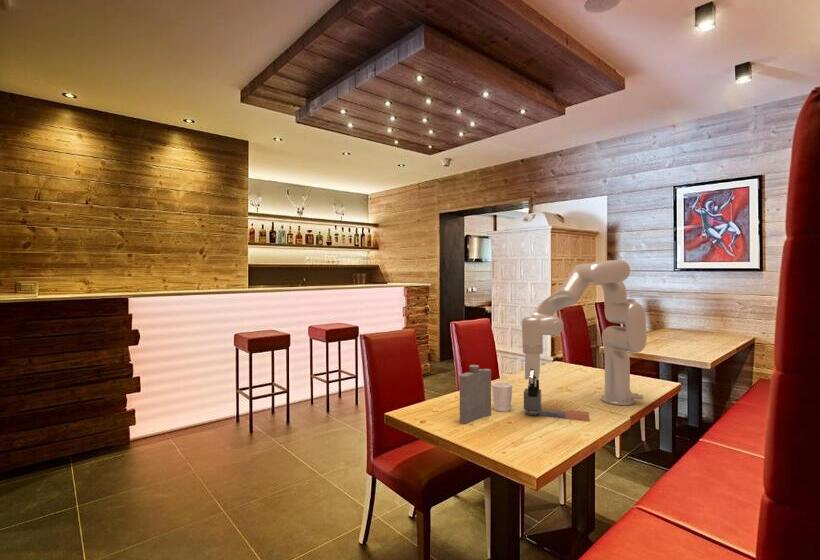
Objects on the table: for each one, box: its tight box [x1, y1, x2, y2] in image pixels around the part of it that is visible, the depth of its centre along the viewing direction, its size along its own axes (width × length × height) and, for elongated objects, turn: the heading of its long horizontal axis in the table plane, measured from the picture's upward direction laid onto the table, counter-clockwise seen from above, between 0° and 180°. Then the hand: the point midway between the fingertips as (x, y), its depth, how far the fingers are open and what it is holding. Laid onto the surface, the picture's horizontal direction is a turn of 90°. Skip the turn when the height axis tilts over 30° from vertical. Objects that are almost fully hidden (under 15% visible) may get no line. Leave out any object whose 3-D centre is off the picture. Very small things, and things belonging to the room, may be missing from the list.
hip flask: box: [458, 364, 492, 425], centre depth 157 cm, size 16×4×20 cm, turn 129°
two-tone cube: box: [523, 387, 542, 411], centre depth 161 cm, size 6×6×6 cm
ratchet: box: [524, 408, 590, 422], centre depth 158 cm, size 23×6×6 cm, turn 69°
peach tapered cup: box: [491, 381, 513, 412], centre depth 168 cm, size 8×8×10 cm
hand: (533, 392), depth 162 cm, fingers open, 9 cm apart
